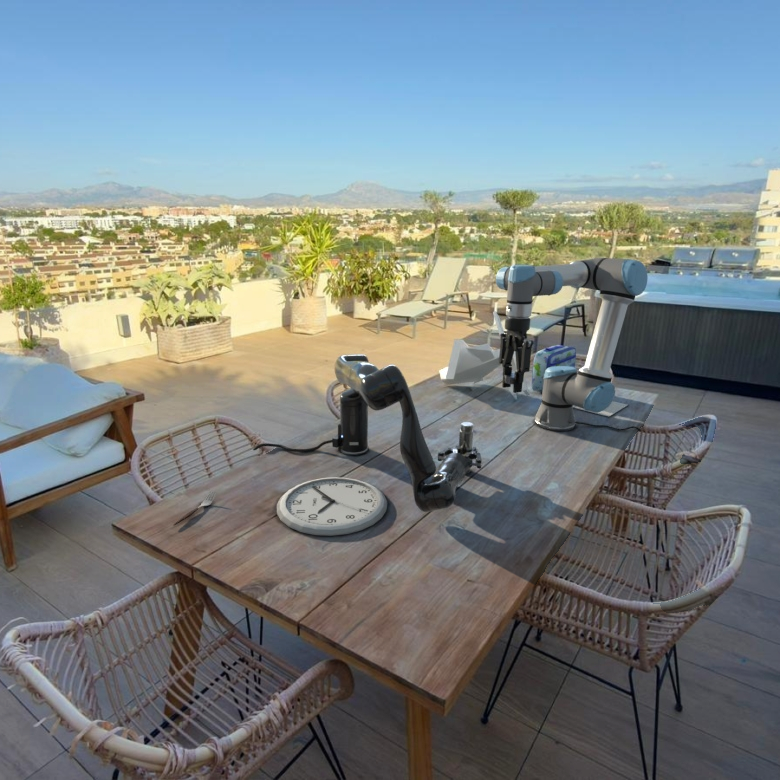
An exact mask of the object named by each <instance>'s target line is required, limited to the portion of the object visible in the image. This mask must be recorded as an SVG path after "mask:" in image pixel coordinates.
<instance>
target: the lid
mask: <svg viewBox="0 0 780 780" xmlns="http://www.w3.org/2000/svg"><path fill="white" fill-rule="evenodd" d="M514 376H515V372H512V373H507V374H505V376H504V382H505V383H507V384H512V385H514Z"/></svg>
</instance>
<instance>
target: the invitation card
mask: <svg viewBox="0 0 780 780" xmlns="http://www.w3.org/2000/svg"><path fill="white" fill-rule="evenodd" d="M628 406H629V404H627V403H623V402H618V401H614V400H612V402H611V404H610V405H609V406H608V407H607V408H606V409H605V410H603V411H601V412H592V411H587V410H585V409H583V408H580V407H577V406H574V407H573V409H575V410H581V411H584V412H587V413H593V414H596V415H600V416H604V417H608V418H609V417H611V416H613V415H614V414H616V413H617V412H619V411H621V410H623V409H624V408H626V407H628Z"/></svg>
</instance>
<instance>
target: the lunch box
mask: <svg viewBox="0 0 780 780" xmlns="http://www.w3.org/2000/svg"><path fill="white" fill-rule="evenodd" d="M576 358H577V349H576V347H575V346H567V345H566V346H565V345H562V344H556V345H551V346H549V347H545V348H543V349H541V350H538V351H537V352H536V353H535V355H534V358H533V361H532V362H533V363H532V372H531V374H532V375H531V390H532V391H536V392H538V393H539V392H540V393H542V391H543V380H544V379H543V378H544V375H545V370H546V369H547V368H549V367H555V366H570V367H575V368H576Z"/></svg>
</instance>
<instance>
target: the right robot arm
mask: <svg viewBox="0 0 780 780" xmlns="http://www.w3.org/2000/svg"><path fill="white" fill-rule="evenodd" d="M648 278H649V277H648V271H647V267H646V266H645V264H644V263H643V262H642V261H640V260H637V259H631V258H614V257H612V258H611V257H596V258H594V257H593V258H589V259H581V260H580V259H579V260H574V261H572V262H570V263H567V264H551V265H537V266H535V265H532V264H513V265H511V266H507V267H506V266H504V267H501V268H500V269H499V270H498V271H497V273H496V275H495V284H496V286H497V287H498V289H500V290H504V291H506V292H507V293H506V309H505V315H506V316H505V319H504V329H505V330H506V332H504V333H501V334H500V335H499V338H500V344H499V345H500V346H499V349H500V356H499V363H500V364H501V366H503V367H502V385H501V388H504V389H505V388H509V387H511V384H507V383H505V382H504V376H505V374H507V373H513V367H512V366H513V364H512V362H513V359H512V358H513V354H514V351H515V353H516V366H515V368H516V367H517V369H516V370H515V371H514V373H515V376H514V387H513V392H514V393H516V394H518V393H522V391H523V389H522V383H523V379H524V378H525V373H528V372H530V370H531V356H532V348H533V344H534V341H533V340H530V339H529V338H528V334H527V332H528V331H529V330H531V329H530V328H531V318H530V317H531V316H532V307H533V299H534V298H533V297H540V296H541V297H543V296H548V297H549V296H552V295H556V294H558V293H560V292H561V291H562V288H563V287H571V288H573V289H579V288H580V289H581V288H582V289H588V290H594V291H599V295H598V296H599V298H600V299H601V304H600V307H599V311H598V315H597V319H596V323H595V325H594V330H593V333H592V336H591V341H590V344H589V347H588V351H587V355H586V359H585V362H584V365H583V366H582V367H580V368H579V369H578V368H577V367H576V366H575V367H570V366H555V367H549V368H547V369H546V370H545V375H544V378H543V379H544V380H543V391H542V392H541V402H540V405H539V407H538V410H537V411H536V413H535V417H534V424H535V425H536V426H537V427H539V428H542V429H544V430H549V431H556V432H567V431H572V430H574V429H575V428H576V424H578V425H584V426H589V427H595V428H607V429H611V430H614V431H619V432H622V431H628V430H631V429H632V430H633V429H636V430H637V431H641V429H640V428H639V427H637V426H634V425H632V426H628V427H624V428H617V427H614V426H611V425H607V424H593V423H588V422H582V421H576V418H575V417H576V416H575V413H574V407H576V406H577V407H580V408H583V409H585V410H587V411H586V412H588V411H592V412H601V411H603V410H605V409H606V408H607V407H608V406H609V405H610V404H611V402H612V401H614V398H615V395H616V387H615V385H614V384H613V383H612V380H613V376H612V374H611V373H610V370H611V367H612V364H613V363H612V362H613V360H614V356H615V352H616V349H617V345H618V341H619V338H620V335H621V332H622V327H623V324H624V320H625V317H626V314H627V310H628V306H629V305H631V304H632V303H634V302H635V299H636V297H638V296H640V295H642V294H643V292H644V291H645V290H646V288H647V285H648ZM520 368H521V369H520ZM573 406H574V407H573ZM592 412H591V413H592Z"/></svg>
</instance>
